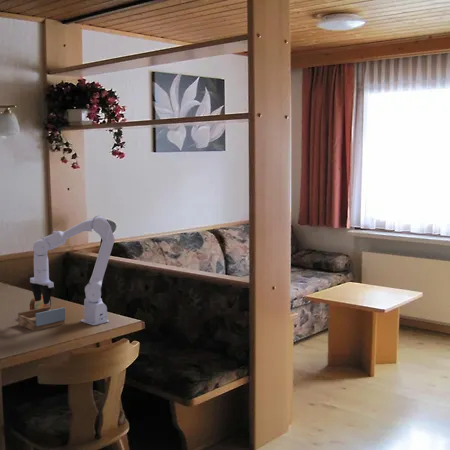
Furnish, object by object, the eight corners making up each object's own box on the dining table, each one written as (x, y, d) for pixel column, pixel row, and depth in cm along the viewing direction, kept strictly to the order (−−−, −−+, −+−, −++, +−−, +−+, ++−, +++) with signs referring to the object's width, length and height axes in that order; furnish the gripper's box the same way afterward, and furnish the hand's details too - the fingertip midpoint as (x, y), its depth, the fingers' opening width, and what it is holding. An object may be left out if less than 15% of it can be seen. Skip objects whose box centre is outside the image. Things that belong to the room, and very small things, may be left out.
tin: (35, 319, 263) (34, 299, 262) (28, 318, 264) (27, 299, 263) (52, 310, 278) (51, 291, 277) (45, 309, 279) (45, 291, 277)
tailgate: (65, 320, 255) (64, 307, 255) (36, 326, 246) (36, 313, 245) (64, 319, 256) (63, 307, 255) (35, 326, 246) (35, 313, 246)
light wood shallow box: (64, 323, 257) (64, 311, 256) (34, 330, 247) (33, 318, 246) (48, 318, 265) (48, 306, 264) (18, 324, 255) (18, 312, 254)
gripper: (22, 268, 254) (24, 300, 256) (42, 273, 244) (43, 307, 246) (38, 266, 259) (39, 297, 261) (57, 270, 250) (58, 303, 251)
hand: (42, 302), depth 254 cm, fingers open, 6 cm apart
